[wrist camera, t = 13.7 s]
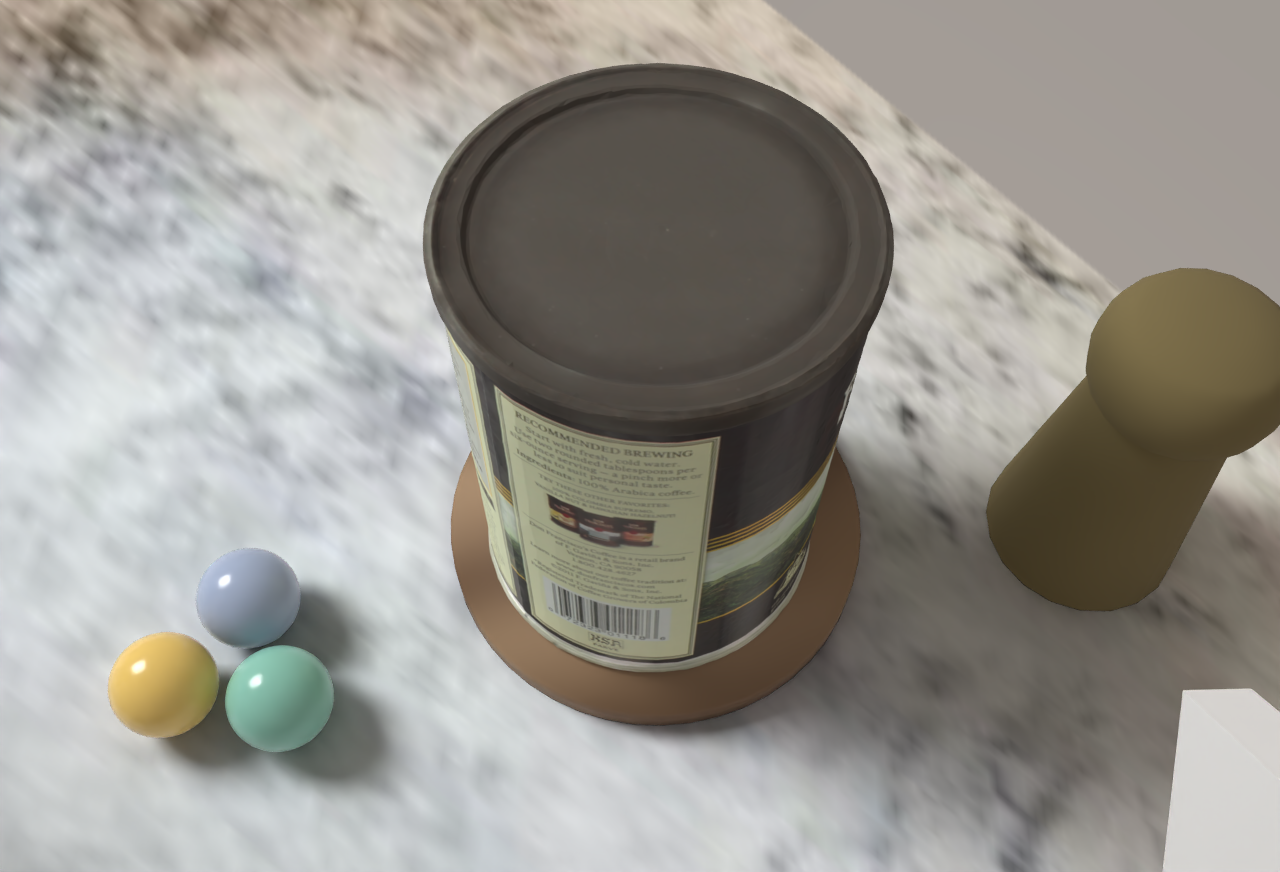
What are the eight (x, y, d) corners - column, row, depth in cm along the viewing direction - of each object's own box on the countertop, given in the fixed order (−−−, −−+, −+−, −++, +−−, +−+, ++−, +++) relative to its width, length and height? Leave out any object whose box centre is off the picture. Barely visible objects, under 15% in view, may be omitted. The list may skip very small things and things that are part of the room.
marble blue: (198, 602, 38) (167, 560, 35) (287, 557, 39) (264, 513, 36) (233, 681, 37) (204, 643, 34) (325, 632, 37) (303, 593, 35)
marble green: (226, 698, 36) (195, 662, 34) (318, 650, 37) (296, 611, 35) (264, 784, 35) (235, 753, 32) (359, 732, 36) (339, 697, 33)
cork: (1135, 437, 41) (1283, 220, 32) (1202, 599, 38) (1388, 411, 29) (964, 457, 41) (1064, 243, 32) (1017, 622, 38) (1146, 439, 28)
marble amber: (115, 685, 36) (77, 648, 34) (210, 637, 37) (179, 597, 35) (149, 770, 35) (111, 738, 33) (246, 718, 36) (217, 683, 33)
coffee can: (766, 366, 42) (825, 36, 30) (847, 644, 36) (958, 378, 24) (467, 409, 41) (402, 85, 29) (506, 702, 35) (445, 455, 23)
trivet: (387, 470, 40) (382, 455, 40) (713, 311, 44) (715, 294, 43) (580, 807, 35) (579, 798, 34) (937, 593, 38) (944, 579, 37)
